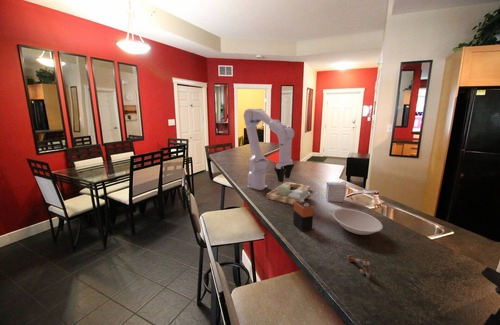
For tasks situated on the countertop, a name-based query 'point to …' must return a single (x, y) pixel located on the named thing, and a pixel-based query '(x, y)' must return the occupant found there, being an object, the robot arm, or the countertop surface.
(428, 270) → the countertop surface
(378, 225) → the dish
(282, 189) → the block
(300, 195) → the lid
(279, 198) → the puzzle board
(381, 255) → the countertop surface
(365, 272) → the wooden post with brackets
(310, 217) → the battery
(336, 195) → the medicine box
